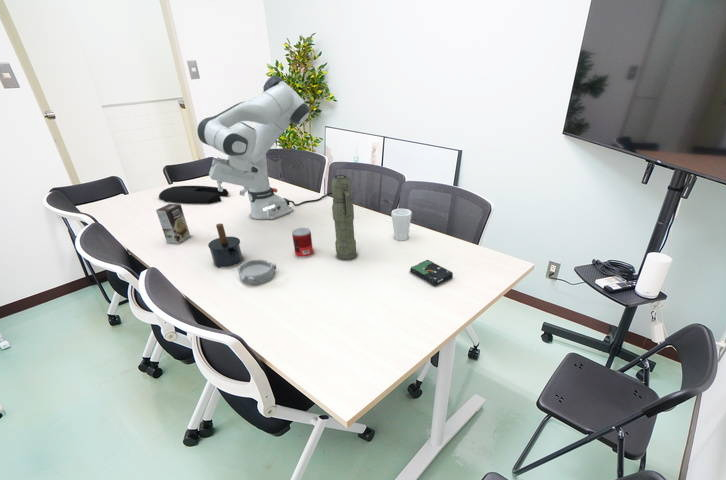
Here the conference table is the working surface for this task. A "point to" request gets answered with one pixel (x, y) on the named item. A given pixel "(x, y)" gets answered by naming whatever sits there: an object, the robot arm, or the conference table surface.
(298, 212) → the conference table surface
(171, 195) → the black flat oval slab
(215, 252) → the pot
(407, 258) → the conference table surface
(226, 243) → the lid
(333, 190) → the thermos
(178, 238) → the coffee box
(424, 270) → the disk drive
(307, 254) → the canned food
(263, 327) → the conference table surface
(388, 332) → the conference table surface
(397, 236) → the foam cup
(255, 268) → the dish
